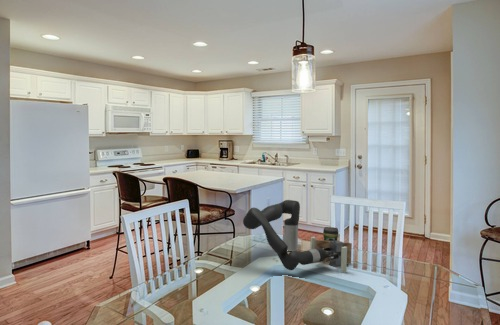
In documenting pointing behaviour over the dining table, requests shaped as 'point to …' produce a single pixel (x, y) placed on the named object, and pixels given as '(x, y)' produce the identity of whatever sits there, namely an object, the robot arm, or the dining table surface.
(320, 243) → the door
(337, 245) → the iron block
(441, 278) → the dining table surface
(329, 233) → the coffee jar
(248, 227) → the robot arm
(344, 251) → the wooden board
